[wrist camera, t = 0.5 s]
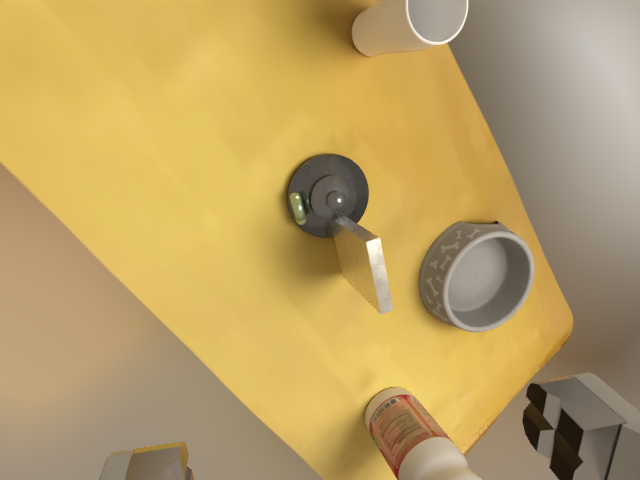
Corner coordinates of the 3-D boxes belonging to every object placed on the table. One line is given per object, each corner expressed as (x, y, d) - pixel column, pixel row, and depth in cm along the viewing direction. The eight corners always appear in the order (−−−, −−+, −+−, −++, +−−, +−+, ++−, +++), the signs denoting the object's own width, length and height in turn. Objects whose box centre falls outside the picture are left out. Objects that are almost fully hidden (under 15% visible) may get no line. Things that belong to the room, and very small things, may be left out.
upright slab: (303, 181, 53) (335, 199, 42) (346, 168, 55) (389, 182, 44) (328, 282, 58) (363, 321, 47) (368, 268, 60) (410, 302, 49)
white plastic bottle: (421, 386, 71) (559, 541, 45) (404, 435, 72) (528, 610, 47) (372, 383, 67) (491, 548, 42) (356, 434, 69) (460, 622, 44)
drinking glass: (404, 31, 53) (482, 3, 40) (372, 75, 54) (438, 62, 40) (367, -10, 51) (437, -56, 37) (333, 36, 51) (390, 7, 37)
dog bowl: (506, 315, 73) (530, 330, 68) (411, 325, 67) (430, 342, 62) (524, 218, 68) (551, 226, 63) (424, 220, 62) (445, 229, 57)
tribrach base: (277, 166, 53) (281, 169, 51) (356, 143, 56) (364, 145, 53) (298, 246, 57) (303, 251, 55) (372, 221, 59) (379, 225, 57)
